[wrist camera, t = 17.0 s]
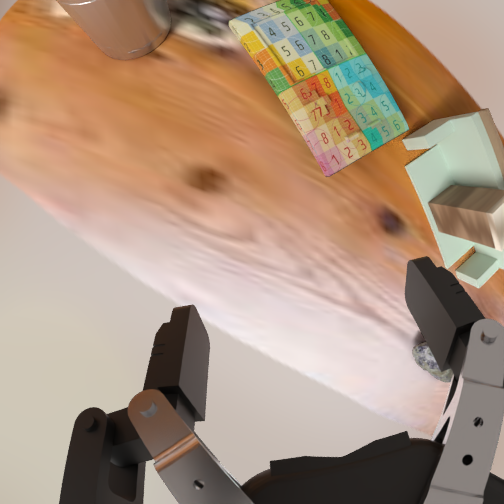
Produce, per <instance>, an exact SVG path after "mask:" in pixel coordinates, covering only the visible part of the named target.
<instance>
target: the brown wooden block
mask: <svg viewBox="0 0 504 504" xmlns="http://www.w3.org/2000/svg"><path fill="white" fill-rule="evenodd" d="M428 205H429V207H430V210H431V212H432V215H433V217H434V220H435V223H436V225H437V228H438V231H439V232H441V233H445V234H448V235H452V236H455V237H459V238H462V239H465V240H469V241H472V242H475V243H478V244H482V245H485V246H488V247H491V248H494V249H496V250H498V251H501V252H502V251H503V250H504V190H500V189H490V188H481V187H470V186H459V185H450V186H449V187H448V188H446V189H445V190H444V191H442V192H441V193H440V194H438V195H437V196H436V197H435V198H433V199H432V200H431V201H429V202H428Z"/></svg>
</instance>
